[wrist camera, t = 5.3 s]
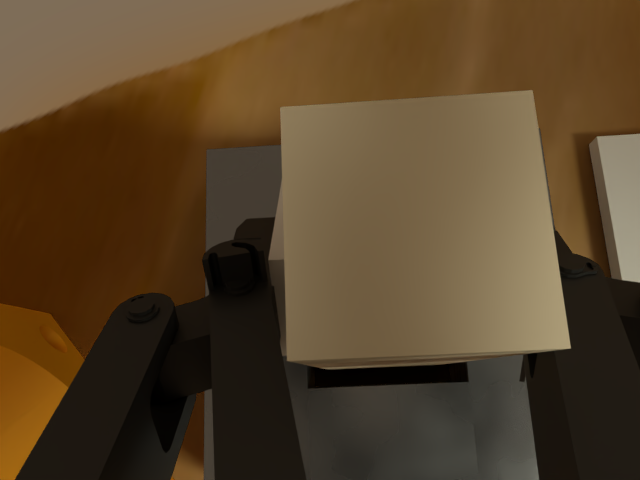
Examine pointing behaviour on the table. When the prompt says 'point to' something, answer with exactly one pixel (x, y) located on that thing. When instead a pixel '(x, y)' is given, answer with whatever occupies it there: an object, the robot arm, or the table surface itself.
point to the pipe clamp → (30, 380)
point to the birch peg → (418, 233)
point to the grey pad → (619, 200)
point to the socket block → (379, 399)
